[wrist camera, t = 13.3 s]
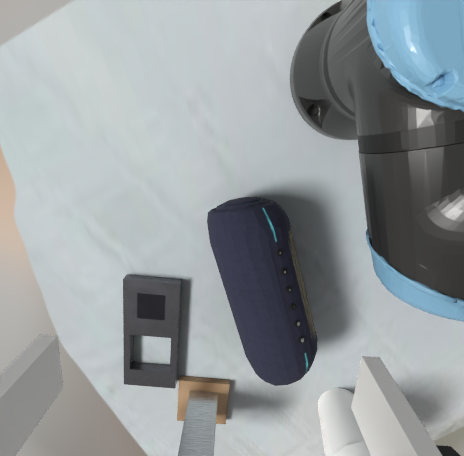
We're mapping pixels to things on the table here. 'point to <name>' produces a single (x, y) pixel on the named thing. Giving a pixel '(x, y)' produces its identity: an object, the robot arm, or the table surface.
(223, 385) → the pad
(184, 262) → the table surface
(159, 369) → the dark grey slotted board
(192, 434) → the tall grey prism
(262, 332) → the portable speaker
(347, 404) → the foam cup
